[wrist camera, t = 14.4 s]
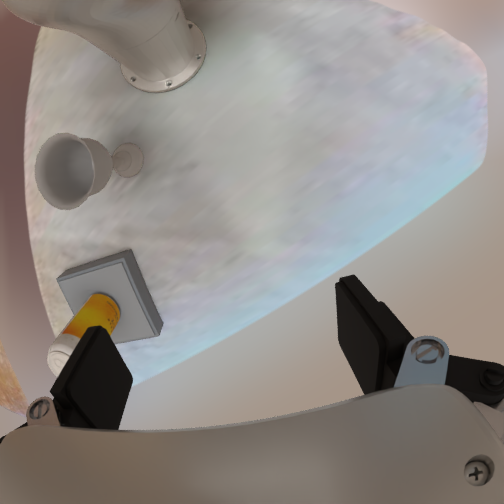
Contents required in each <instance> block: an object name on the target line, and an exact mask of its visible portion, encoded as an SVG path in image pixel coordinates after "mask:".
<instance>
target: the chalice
mask: <svg viewBox="0 0 504 504" xmlns="http://www.w3.org/2000/svg"><path fill="white" fill-rule="evenodd" d="M143 158H144V157H143V153H142V151H141V150H140V148H139V147H138V146H136V145H135V144H132V143H125V144H123V145H120V146H119V147H118V148H117V149H116V150H115V152H114V154H113V156H112V157H111V155H110V154H109V152H108V151H107V149H106V148H105V147H104V146H103V145H102V144H100V143H99V142H98V141H96V140H93V139H88V138H79V137H77V136H76V135H73V134H70V133H59V134H56V135H54V136H52V137H50V138H49V139H48V140H47V141H46V142H45V143H44V144H43V145H42V147H41V149H40V151H39V153H38V155H37V158H36V164H35V179H36V182H37V186H38V189H39V191H40V193H41V194H42V196H43V197H44V199H45V200H46V201H47V202H48V203H49V204H51V205H52V206H54V207H56V208H58V209H60V210H71V209H74V208H76V207H79V206H80V205H81V204H82V203H83V202H84V201H86V200H87V198H88V196H91V195H93V194H96V193H98V192H100V191H101V190H102V189H103V188H104V187H105V186H106V184H107V182H108V180H109V179H110V176H111V173H112V169H113V168H114V170H115V171H116V173H118V174H119V175H120V176H123V177H132V176H134V175H136V174H137V173H138V172H139V171H140V170H141V168H142V165H143Z"/></svg>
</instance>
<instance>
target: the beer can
mask: <svg viewBox="0 0 504 504" xmlns="http://www.w3.org/2000/svg"><path fill="white" fill-rule="evenodd" d="M119 319H120V312H119V309H118V307H117V305H116V303H115V302H114V301H113V300H112V299H111V298H110V297H108V296H106V295H103V294H93V295H91V296H90V297H89V298H88V299H87V300H86V301H85V303H84V304H83V305H82V306H81V308H80V309H79V310H78V311H77V313H76V314H75V315H74V316H73V318H72V319H71V320H70V321H69V323H68V324H67V325H66V326H65V328H64V329H63V330H62V332H61V333H60V334H59V336H58V337H57V338H56V340H55V341H54V342H53V344H52V345H51V347H50V348H49V351H48V357H47V362H48V365H49V367H50V369H51V371H52V372H53V373H54V374H55V375H56V376H57V377H58V376H59V374H60V372H61V371H62V369H63V367H64V365H65V364H66V362H67V360H68V359H69V357H70V355H71V354H72V352H73V350H74V349H75V347H76V345H77V344H78V342H79V341H80V339H81V337H82V336H83V334H84V333H85V331H86V329H87V328H88V327H91V326H98V325H100V326H102V327H103V328H105V329H106V330H107V331H108V333H109V335H110V336H111V334H112V332H113V330H114V329H115V327H116V325H117V323H118V321H119Z"/></svg>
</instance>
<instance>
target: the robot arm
mask: <svg viewBox="0 0 504 504" xmlns="http://www.w3.org/2000/svg"><path fill="white" fill-rule="evenodd" d="M2 1H3V3H4V4H5V6H6V7H7V8H8V9H9V10H10V11H11V12H12V13H13V14H15V15H16V16H18V17H19V18H21V19H23V20H25V21H28V22H31V23H33V24H36V25H40V26H44V27H49V28H54V29H60V30H65V31H69V32H72V33H74V34H76V35H79V36H81V37H82V38H84V39H86V40H87V41H89V42H90V43H92V44H93V45H95V46H96V47H98V48H99V49H101V50H102V51H103V52H105V53H106V54H108V55H109V56H111V57H112V58H114V59H115V60H116V61H118V62H119V63H120V68H121V71H122V74H123V76H124V77H125V79H126V80H127V81H128V82H129V83H130V84H131V85H132V86H134V87H135V88H138V89H140V90H142V91H146V92H152V93H160V92H166V91H170V90H173V89H176V88H178V87H180V86H182V85H183V84H185V83H186V82H188V81H189V80H190V79H191V78H192V77H193V76H194V75H195V74H196V73H197V72H198V70H199V69H200V67H201V66H202V64H203V62H204V58H205V55H206V43H205V38H204V35H203V33H202V32H201V30H200V29H199V28H198V27H197V26H196V24H194V23H193V22H191V21H190V20H187V19H186V18H185V15H184V12H183V10H182V7H181V4H180V1H179V0H2ZM189 28H191V29H189ZM198 57H200V59H199V60H197V58H198ZM134 79H136V80H135V81H134ZM169 84H172V85H171V86H169ZM335 289H336V305H337V324H338V340H339V344H340V346H341V349H342V351H343V353H344V355H345V357H346V358H347V360H348V362H349V364H350V366H351V368H352V370H353V372H354V374H355V377H356V378H357V381H358V382H359V384H360V387H361V389H362V391H363V393H364V395H363V396H359V397H355V398H351V399H348V400H345V401H341V402H337V403H333V404H330V405H326V406H322V407H318V408H314V409H309V410H305V411H300V412H296V413H291V414H287V415H282V416H277V417H272V418H266V419H260V420H254V421H248V422H241V423H234V424H227V425H219V426H209V427H199V428H186V429H169V430H118V429H119V425H120V422H121V419H122V415H123V412H124V408H125V405H126V402H127V399H128V395H129V392H130V389H131V386H132V383H133V378H132V375H131V373H130V371H129V369H128V368H127V366H126V364H125V362H124V361H123V359H122V357H121V355H120V354H119V352H118V350H117V348H116V346H115V344H114V342H113V341H112V339H111V337H110V335H109V333H108V331H107V330H106V329H105V328H103V327H102V326H100V325H98V326H91V327H88V328H87V329H86V331H85V333H84V334H83V336H82V337H81V339H80V341H79V342H78V344H77V345H76V347H75V349H74V350H73V352H72V354H71V355H70V357H69V359H68V360H67V362H66V364H65V365H64V367H63V369H62V371H61V372H60V374H59V376H58V378H57V380H56V381H55V383H54V385H53V387H52V388H51V390H50V393H51V394H52V395H53V396H54V399H53V400H52V399H51V398H49V397H40V398H38V399H36V400H35V401H33V402H32V403H31V404H30V406H29V407H28V409H27V412H26V417H27V422H26V423H25V424H23V425H22V426H20V427H18V428H17V429H15V430H14V431H12V432H10V433H9V434H7V435H5V436H3V437H2V438H0V504H504V366H503V365H501V364H498V363H494V362H488V361H482V360H475V359H470V358H464V357H458V356H452V355H449V348H448V346H447V344H446V343H445V342H444V341H443V340H441V339H439V338H437V337H433V336H421V337H417V338H415V339H414V337H413V336H412V335H411V334H410V333H409V331H408V330H407V329H406V328H405V327H404V325H403V324H402V323H401V322H400V321H399V320H398V318H397V317H396V316H395V315H394V314H393V313H392V311H391V310H390V309H389V308H388V307H387V306H386V305H385V303H383V302H381V301H380V302H378V301H377V300H376V299H375V298H374V297H373V295H372V294H371V293H370V292H369V291H368V290H367V288H366V287H365V286H364V285H363V284H362V283H361V281H360V280H358V278H357V277H356V276H355V275H350V276H346V277H342V278H340V279H339V282H338V283H336V284H335Z"/></svg>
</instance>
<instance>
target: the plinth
mask: <svg viewBox="0 0 504 504" xmlns="http://www.w3.org/2000/svg"><path fill="white" fill-rule="evenodd" d="M57 282H58V284H59V286H60V288H61V290H62V292H63V294H64V296H65V298H66V300H67V302H68V304H69V306H70V308H71V310H72V312H73V314H74V315H75V314H76V313H77V311H78V310H79V309H80V308H81V306H82V305H83V304H84V303H85V301H86V300H87V299H88V298H89V297H90V296H91V295H93V294H103V295H106V296H108V297H110V298H111V299H112V300H113V301H114V302H115V303H116V305H117V307H118V309H119V312H120V319H119V321H118V323H117V325H116V327H115V329H114V330H113V332H112V334H111V336H110V337H111V339H112V341H113V342H114V344H119V343H124V342H130V341H136V340H141V339H146V338H152V337H157V336H159V335H160V332H161V329H162V326H163V322H162V320H161V318H160V316H159V313H158V311H157V309H156V307H155V305H154V302H153V300H152V298H151V296H150V293H149V291H148V289H147V286H146V284H145V282H144V279H143V277H142V275H141V272H140V270H139V267H138V265H137V262H136V260H135V257H134V255H133V252H132V249H131V250H127V251H124V252H121V253H118V254H115V255H111V256H108V257H105V258H102V259H99V260H96V261H93V262H90V263H87V264H83V265H80V266H77V267H74V268H71V269H68V270H66V271H65V272H64V273H62V274H61V275H60V276H59V277H58V278H57Z"/></svg>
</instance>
